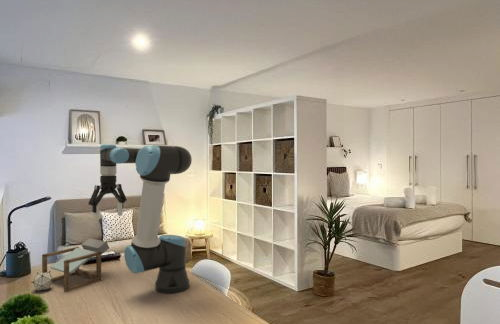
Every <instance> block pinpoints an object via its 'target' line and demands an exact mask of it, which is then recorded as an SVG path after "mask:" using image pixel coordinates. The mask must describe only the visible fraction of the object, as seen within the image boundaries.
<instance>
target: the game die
mask: <svg viewBox="0 0 500 324" xmlns="http://www.w3.org/2000/svg"><path fill="white" fill-rule="evenodd" d="M52 278H53V277H52V275H51V270H49V271H47V273H42V272H38V271H37V272H36V276H35V278H34V279H33V281H30V283H32V284H33V286H34V287H35V293H37V292H38V291H46V290H48V291H50V290H51V289H50V287H51V285H52V284H53V282H56V281H55V280H53V279H52Z"/></svg>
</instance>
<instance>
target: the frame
mask: <svg viewBox="0 0 500 324" xmlns="http://www.w3.org/2000/svg"><path fill="white" fill-rule="evenodd" d="M75 248H80V247H79V246H74V247H70V248H66V249H61V250H57V251H53V252H48V253H43V254H42V255H41V256H42V257H41V273H47V272H48V257H49V258H50V257H53V256H58V255H61V254H65V253H70V252H72V251H73V250H74V249H75ZM90 257H92V258H94V257H95V258H96V259H95V261H96V266H95V269H96V273H95V272H92V271H88V270H85V269H81V268H80V267H79V268H78V269H76V270H75V271H74V272H73V273H71V274H69V263H72V262H75V261H79V260H83V259H87V258H90ZM90 259H91V258H90ZM73 276H80V277H83V278H87V279H89V280H86V281H83V282H81V283H78V284H75V285H70V277H73ZM52 279H53V280H55V281H54V282H56V281H60V280H63V292H64V293H68V292H71V291H74V290H77V289H80V288H83V287H85V286H88V285H91V284H94V283H97V282H100V281H102V255H101V252H96V253H92V254H88V255H84V256H80V257H77V258H73V259H69V260H65V261H64V272H63V274H62V275H59V276H55V277H52Z"/></svg>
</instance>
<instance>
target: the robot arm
mask: <svg viewBox="0 0 500 324" xmlns="http://www.w3.org/2000/svg"><path fill="white" fill-rule="evenodd" d="M99 149H100V150H99V159H100V161H99V162H100V163H99V164H100V168H99V169H100V170H99V172H100V177H99V182H100V185H96V184H95V185H94V190H93V192H92V194H91V196H90V198H89V200H88V202H87V203H88V205H89V206H91V208H92V213H93V220H99V219H100V216H99V203H100V202H101V200H102V199H103V197H104V196H105V195H108V194H112V195H113V196H114V198H116V199H115V200H117V201H118V202H117V216H123V209H124V204H125V202H126V201H127V200H128V199H127V196H126V195H125V192H124V190H123V187H122V184H121V183H117V165H119V164H135V166H136V167H135V171H136V172H137V174H138V175H139V179H141V181H142V182H143V183H142V190H141V197H140V205H139V212H138V220H137V227H136V235H134V236H133V237H132V239H131V243H130V245H126V246H125V248H124V252H123V254H124V262H125V264H126V266H127V268H128V270H129V271H130V272H131V273H132V274H139V273H144V272H147V271H148V272H149V271H152V270H155V269H158V274H157V278H156V280H155V283H154V289H155V291H157V292H159V293H163V294H174V293H180V292H181V293H182V292H183V291H185V290H188V289H189V288H190V278H189V277H188V273H187V269H186V264H187V262H186V259H187V258H186V248H187V246H186V239H185V237H183V236H181V235H177V234H176V235H175V234H161V235H159V228H160V221H161V217H162V215H161V214H162V210H163V209H162V207H163V203H164V201H163V200H164V194H165V187H166V184H167V183H169V182H170V179H171V175H179V174H183V173H185V172H186V171H188V170H189V169H190V167H191V165H192V159H193V158H192V155H191V153H190V151H189V150H188V149H186V148H185V147H182V146H177V145H160V144H159V145H156V144H152V145H144V146H143V147H142V148H133V147H132V148H131V147H129V148H128V147H117V145H116V144H106V143H105V144H101V145H100V146H99ZM158 235H159V236H158ZM188 287H189V288H188Z"/></svg>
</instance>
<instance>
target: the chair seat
mask: <svg viewBox="0 0 500 324" xmlns="http://www.w3.org/2000/svg"><path fill="white" fill-rule="evenodd" d="M81 247H82V248H80V247H79V248H75V249H74V250H73V251H70V252H68V253H67V254H66V255H65V256H63V257H62V258H61V259H59V260H58V261H56V262H55V263H54V264H52V265H51V266H50V269H51V270H54V271H58V272H61V273H64V261H65V260H69V259H73V258H77V257H80V256H84V255H88V254H92V253H96V252H101V256H102V255H103V254H105V253H106V252H107V251H108V250H109V249H110V247H109V245H108V241H105V240H100V239H95V238H90V237H89V238H88V239H86V240H85V241H83V242H82V243H81ZM92 258H93V257H90V258H87V259H83V260H79V261H75V262H72V263H69V274H71V273H73V272H75V270H76V269H78V268H79V269H80V268H81V266H83V265H84V264H85V263H87V262H88V261H90V259H92Z"/></svg>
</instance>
